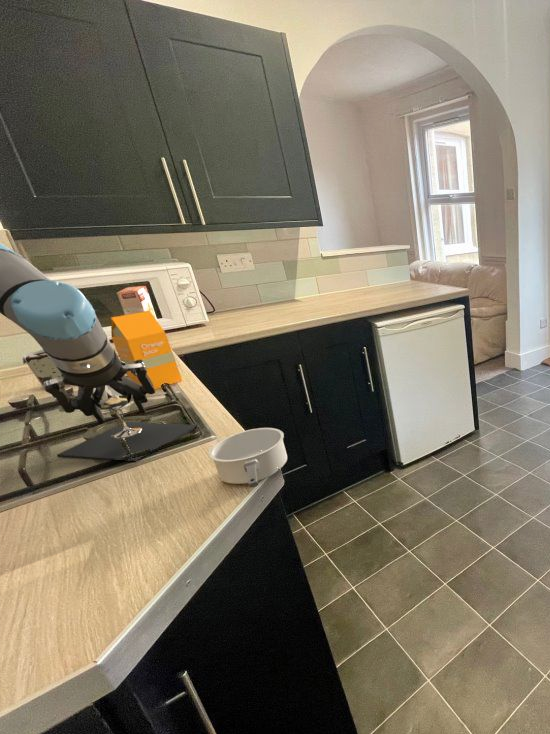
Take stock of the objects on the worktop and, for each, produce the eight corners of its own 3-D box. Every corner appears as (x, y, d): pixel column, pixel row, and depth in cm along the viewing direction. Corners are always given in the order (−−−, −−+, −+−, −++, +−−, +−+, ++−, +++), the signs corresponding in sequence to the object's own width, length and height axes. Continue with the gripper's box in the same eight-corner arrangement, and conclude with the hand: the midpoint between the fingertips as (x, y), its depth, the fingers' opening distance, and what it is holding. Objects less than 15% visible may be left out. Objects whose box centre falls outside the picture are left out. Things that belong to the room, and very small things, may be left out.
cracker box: (159, 349, 148) (138, 290, 140) (138, 352, 146) (114, 292, 138) (166, 340, 160) (146, 285, 152) (146, 343, 157) (125, 286, 149)
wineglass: (101, 440, 83) (76, 385, 79) (124, 427, 89) (101, 374, 84) (132, 438, 84) (108, 383, 79) (152, 425, 89) (131, 372, 84)
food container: (99, 374, 126) (85, 342, 122) (97, 379, 122) (83, 346, 118) (40, 385, 119) (24, 351, 115) (37, 391, 115) (19, 356, 111)
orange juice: (182, 380, 119) (158, 311, 112) (147, 392, 112) (118, 318, 104) (166, 376, 122) (141, 309, 115) (131, 387, 115) (102, 316, 107)
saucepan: (218, 527, 62) (206, 497, 60) (218, 465, 77) (209, 439, 75) (302, 499, 68) (294, 470, 65) (286, 446, 83) (280, 422, 81)
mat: (57, 456, 82) (56, 454, 82) (128, 423, 95) (127, 421, 95) (136, 462, 79) (135, 460, 79) (197, 427, 92) (196, 425, 92)
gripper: (6, 390, 63) (63, 444, 81) (162, 361, 75) (182, 414, 92) (-4, 349, 65) (54, 411, 83) (149, 327, 76) (171, 385, 94)
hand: (121, 412), depth 87 cm, fingers closed on wineglass, 6 cm apart
